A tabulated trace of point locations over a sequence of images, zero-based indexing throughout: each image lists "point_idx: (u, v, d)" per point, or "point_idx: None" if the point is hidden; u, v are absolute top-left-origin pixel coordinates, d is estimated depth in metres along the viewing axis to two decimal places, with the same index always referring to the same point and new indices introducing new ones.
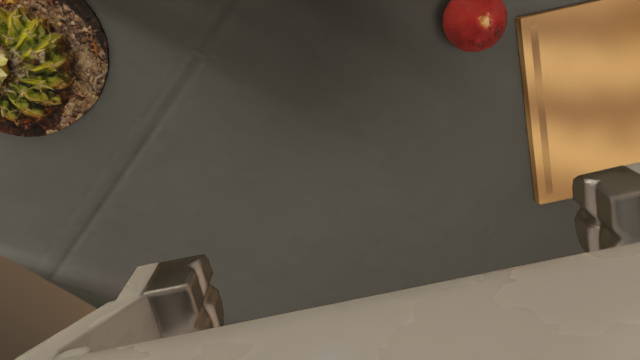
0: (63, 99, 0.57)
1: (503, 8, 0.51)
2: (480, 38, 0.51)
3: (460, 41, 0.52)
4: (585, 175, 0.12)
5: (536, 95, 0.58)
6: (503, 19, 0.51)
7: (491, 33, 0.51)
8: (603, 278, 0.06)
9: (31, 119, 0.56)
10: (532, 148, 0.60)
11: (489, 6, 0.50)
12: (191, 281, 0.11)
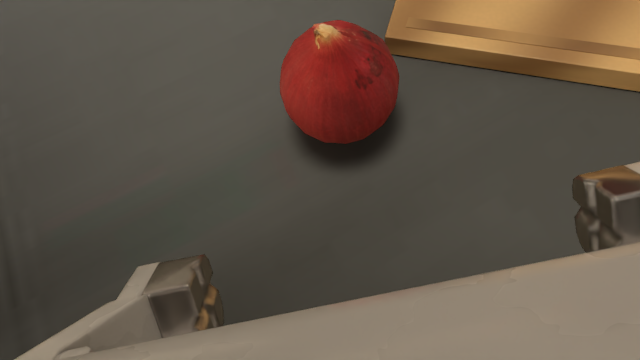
0: None
1: None
2: (360, 60, 0.25)
3: (353, 104, 0.25)
4: (585, 175, 0.12)
5: (534, 45, 0.30)
6: None
7: (359, 38, 0.25)
8: (603, 278, 0.06)
9: None
10: None
11: (311, 31, 0.26)
12: (191, 281, 0.11)
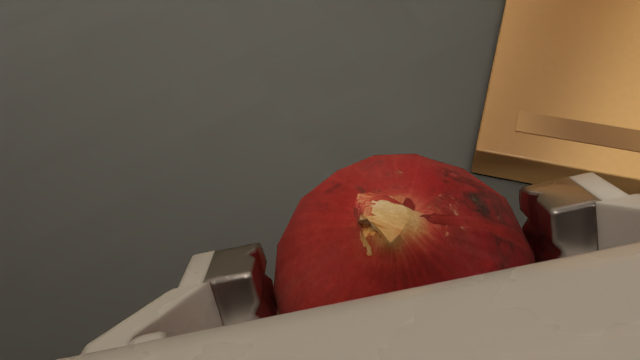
0: None
1: (394, 155, 0.12)
2: None
3: None
4: (529, 187, 0.12)
5: None
6: (435, 165, 0.12)
7: (468, 221, 0.10)
8: (603, 278, 0.06)
9: None
10: None
11: (347, 192, 0.11)
12: (253, 268, 0.11)
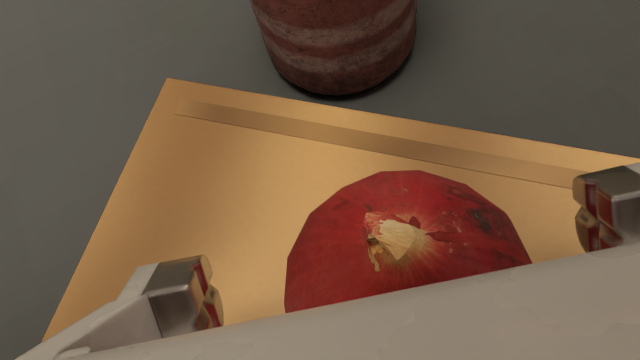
0: None
1: (399, 172, 0.13)
2: None
3: None
4: (585, 175, 0.12)
5: None
6: (439, 182, 0.12)
7: (471, 238, 0.11)
8: (603, 278, 0.06)
9: None
10: None
11: (355, 210, 0.11)
12: (191, 281, 0.11)
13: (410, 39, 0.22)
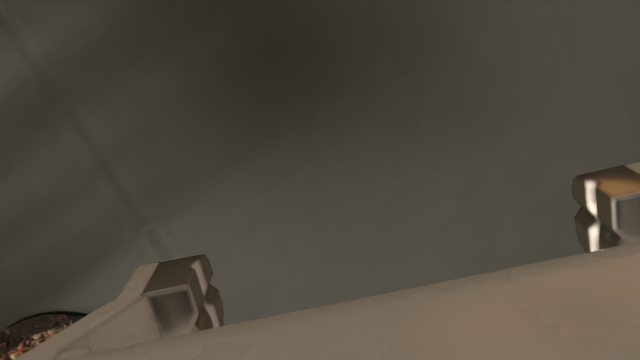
0: None
1: None
2: None
3: None
4: (585, 175, 0.12)
5: None
6: None
7: None
8: (603, 278, 0.06)
9: None
10: None
11: None
12: (191, 281, 0.11)
13: None
